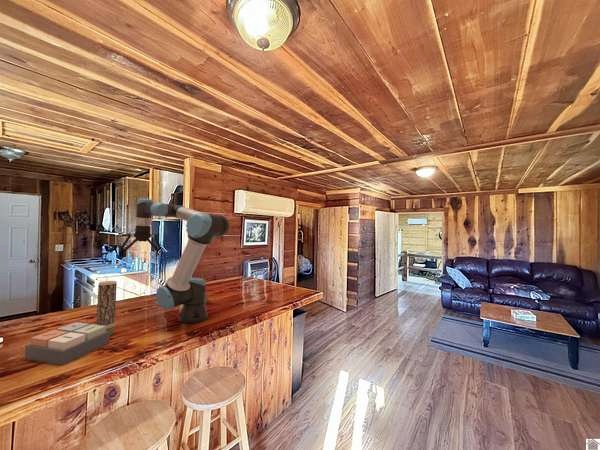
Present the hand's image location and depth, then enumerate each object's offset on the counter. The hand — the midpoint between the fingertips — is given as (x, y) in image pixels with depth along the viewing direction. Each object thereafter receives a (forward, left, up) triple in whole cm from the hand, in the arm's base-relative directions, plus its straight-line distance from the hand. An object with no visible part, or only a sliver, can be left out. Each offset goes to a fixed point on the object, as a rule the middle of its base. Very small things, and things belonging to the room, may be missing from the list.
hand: (140, 262), depth 140 cm
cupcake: (-19, -34, -32) cm, 50 cm away
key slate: (-1, +35, -26) cm, 44 cm away
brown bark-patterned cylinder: (-5, +24, -31) cm, 40 cm away
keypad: (-5, +39, -31) cm, 50 cm away
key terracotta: (-1, +44, -26) cm, 51 cm away
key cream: (-10, +44, -26) cm, 52 cm away
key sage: (-10, +35, -26) cm, 45 cm away
